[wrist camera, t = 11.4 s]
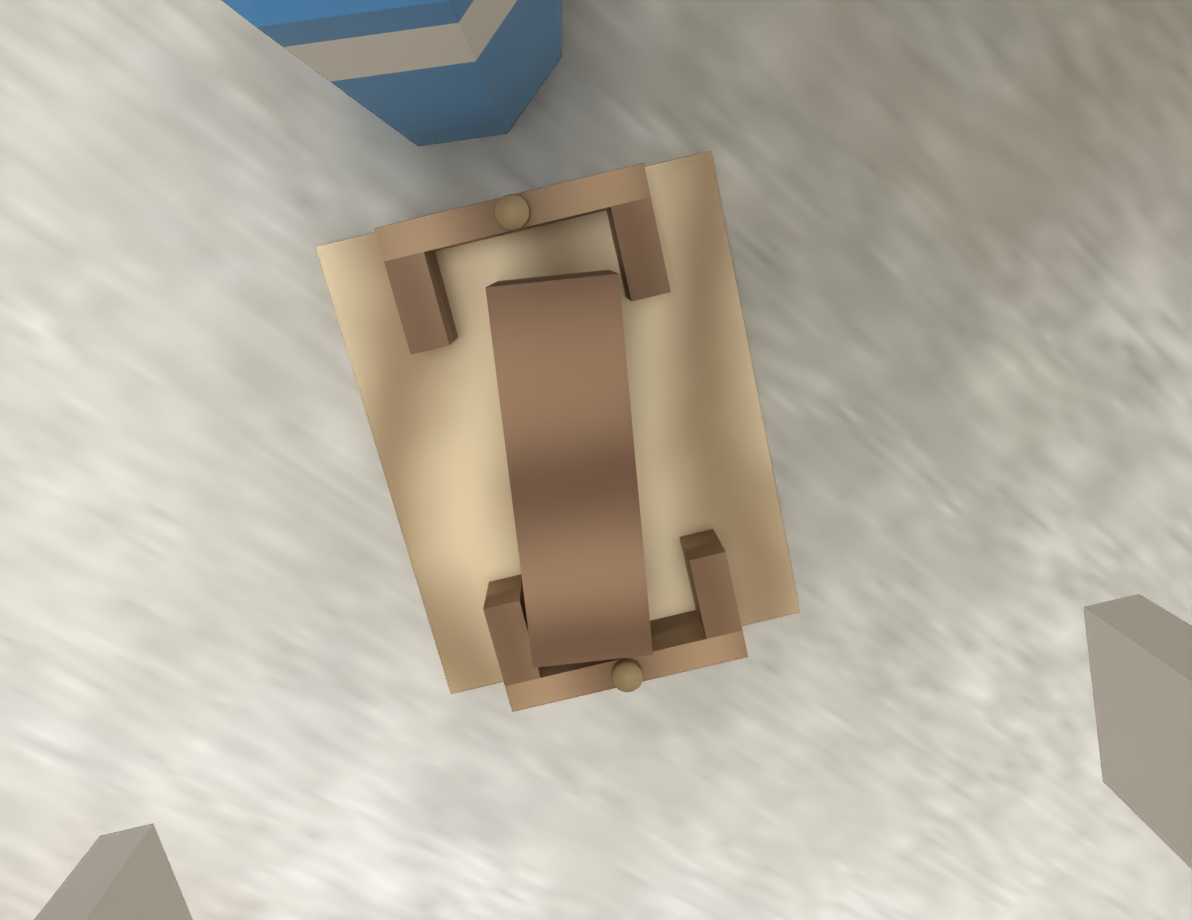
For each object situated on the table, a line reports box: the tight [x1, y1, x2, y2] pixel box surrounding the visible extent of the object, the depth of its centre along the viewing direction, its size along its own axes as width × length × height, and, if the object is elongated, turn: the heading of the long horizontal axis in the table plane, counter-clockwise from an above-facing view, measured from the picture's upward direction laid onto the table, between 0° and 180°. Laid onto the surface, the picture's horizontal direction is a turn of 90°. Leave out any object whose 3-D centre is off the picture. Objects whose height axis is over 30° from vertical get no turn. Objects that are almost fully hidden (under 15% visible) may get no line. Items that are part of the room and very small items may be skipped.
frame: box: [485, 270, 653, 668], centre depth 34 cm, size 14×5×6 cm, turn 6°
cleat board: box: [316, 151, 800, 712], centre depth 36 cm, size 16×20×5 cm
